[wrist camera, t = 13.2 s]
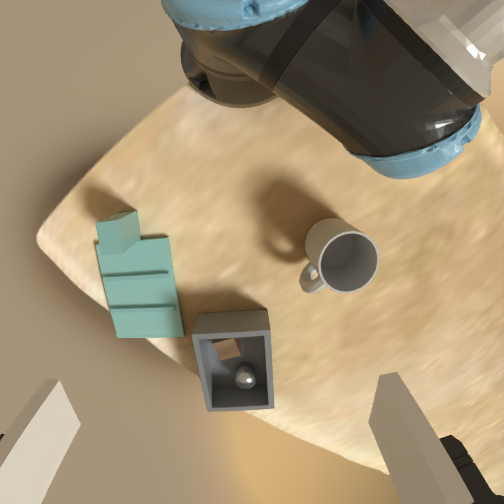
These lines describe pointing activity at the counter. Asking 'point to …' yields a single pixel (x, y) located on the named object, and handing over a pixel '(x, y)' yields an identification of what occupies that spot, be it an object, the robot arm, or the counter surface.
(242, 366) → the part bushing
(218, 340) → the part block
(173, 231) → the counter surface
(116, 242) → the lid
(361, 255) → the cup
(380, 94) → the robot arm
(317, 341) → the counter surface
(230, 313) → the tub
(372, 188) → the counter surface
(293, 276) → the counter surface
